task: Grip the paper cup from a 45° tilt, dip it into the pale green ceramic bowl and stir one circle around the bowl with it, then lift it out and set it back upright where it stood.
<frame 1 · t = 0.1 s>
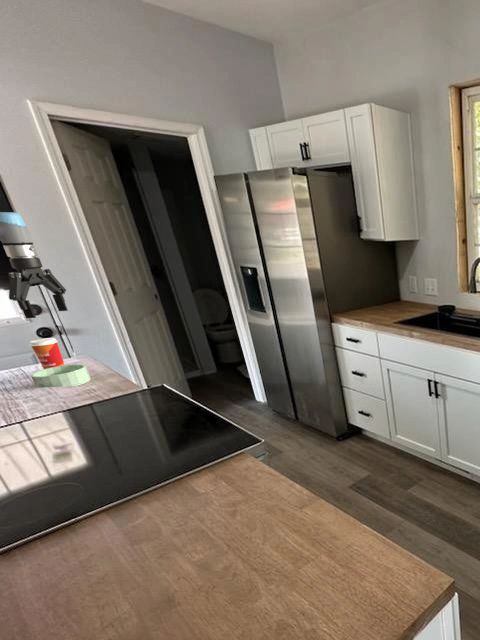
hand: (48, 314, 159), 24 cm above the worktop, tool pointing down, fingers open, 13 cm apart
bowl: (64, 383, 156), on the worktop
paper cup: (57, 373, 168), on the worktop
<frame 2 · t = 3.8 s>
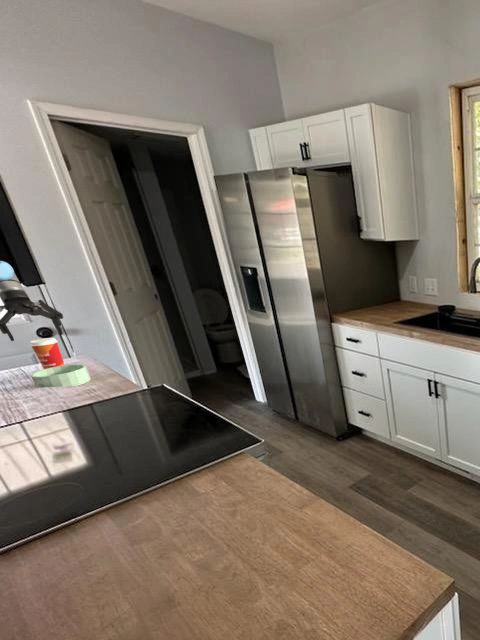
hand: (37, 335, 167), 15 cm above the worktop, tool tilted 45°, fingers open, 13 cm apart
nothing on the worktop moved.
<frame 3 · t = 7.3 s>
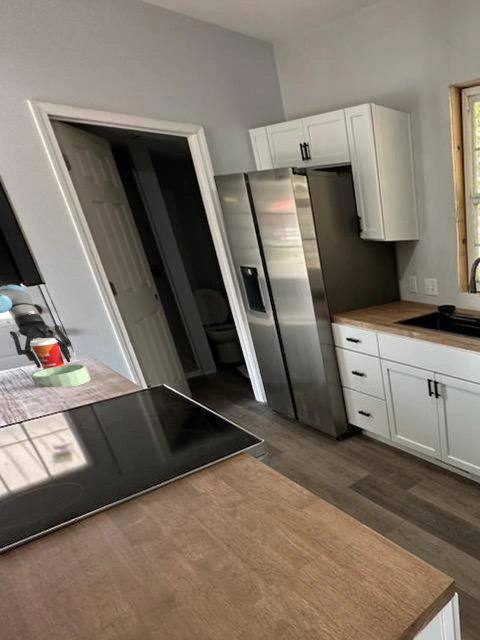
hand: (54, 363, 164), 5 cm above the worktop, tool tilted 45°, fingers closed on paper cup, 8 cm apart
paper cup: (57, 373, 168), on the worktop, touching gripper
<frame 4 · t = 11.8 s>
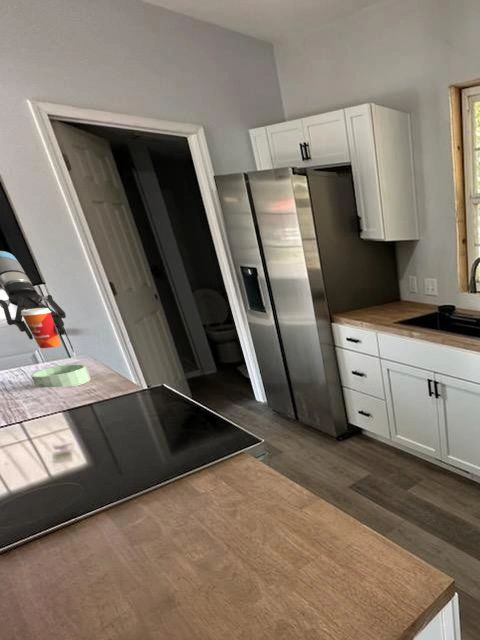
hand: (47, 334, 152), 19 cm above the worktop, tool tilted 45°, fingers closed on paper cup, 8 cm apart
paper cup: (50, 346, 156), point 13 cm above the worktop, touching gripper
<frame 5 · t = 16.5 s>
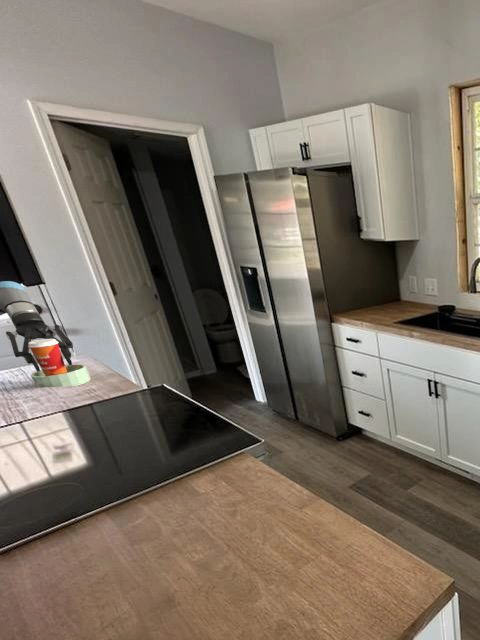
hand: (54, 366, 151), 8 cm above the worktop, tool tilted 45°, fingers closed on paper cup, 8 cm apart
paper cup: (57, 377, 155), point 3 cm above the worktop, touching gripper
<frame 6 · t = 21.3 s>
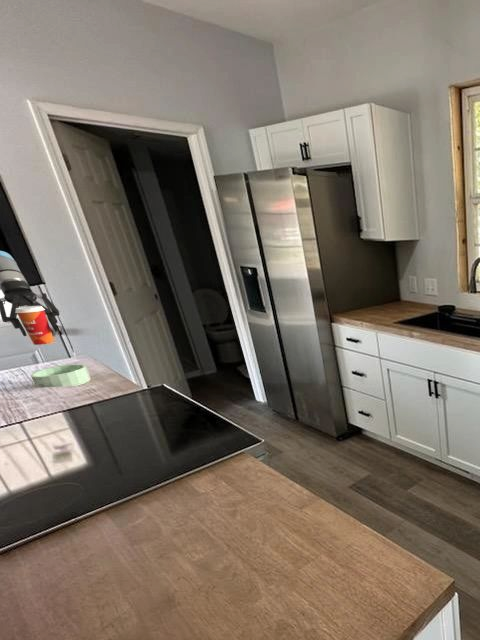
hand: (40, 331, 158), 18 cm above the worktop, tool tilted 45°, fingers closed on paper cup, 8 cm apart
paper cup: (44, 343, 161), point 13 cm above the worktop, touching gripper
when the fingers open (5 cm above the worktop, at t = 25.6 s): paper cup stays where it is, on the worktop.
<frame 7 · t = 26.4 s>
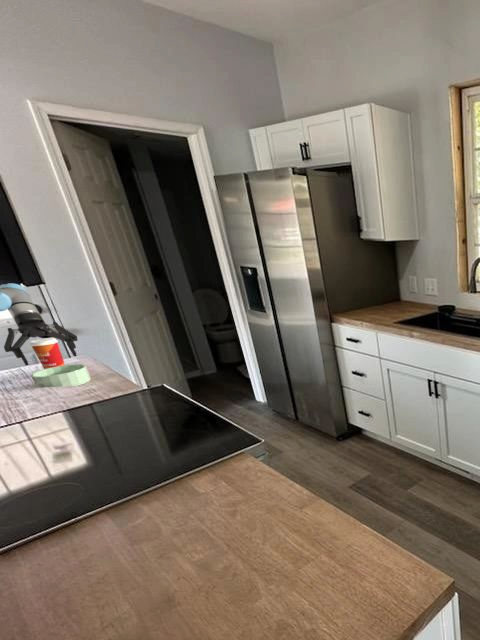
hand: (51, 358, 164), 7 cm above the worktop, tool tilted 45°, fingers open, 13 cm apart
paper cup: (57, 373, 168), on the worktop
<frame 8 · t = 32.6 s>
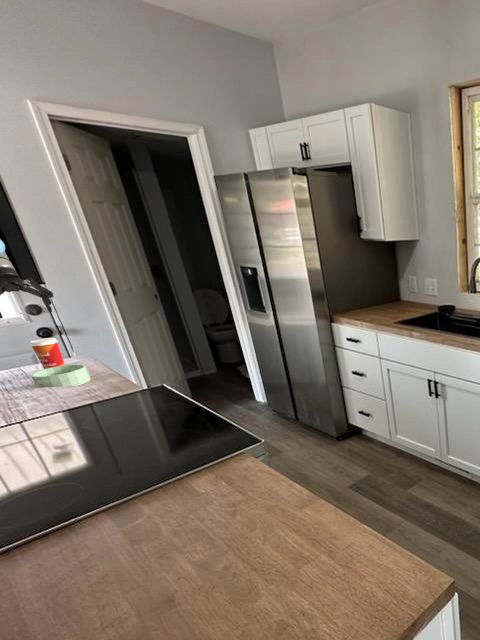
hand: (26, 313, 165), 24 cm above the worktop, tool tilted 45°, fingers open, 13 cm apart
nothing on the worktop moved.
at the end: paper cup inside the target area (0.1 cm from its centre), on the worktop; paper cup tilted 0°; the gripper is holding nothing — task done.
